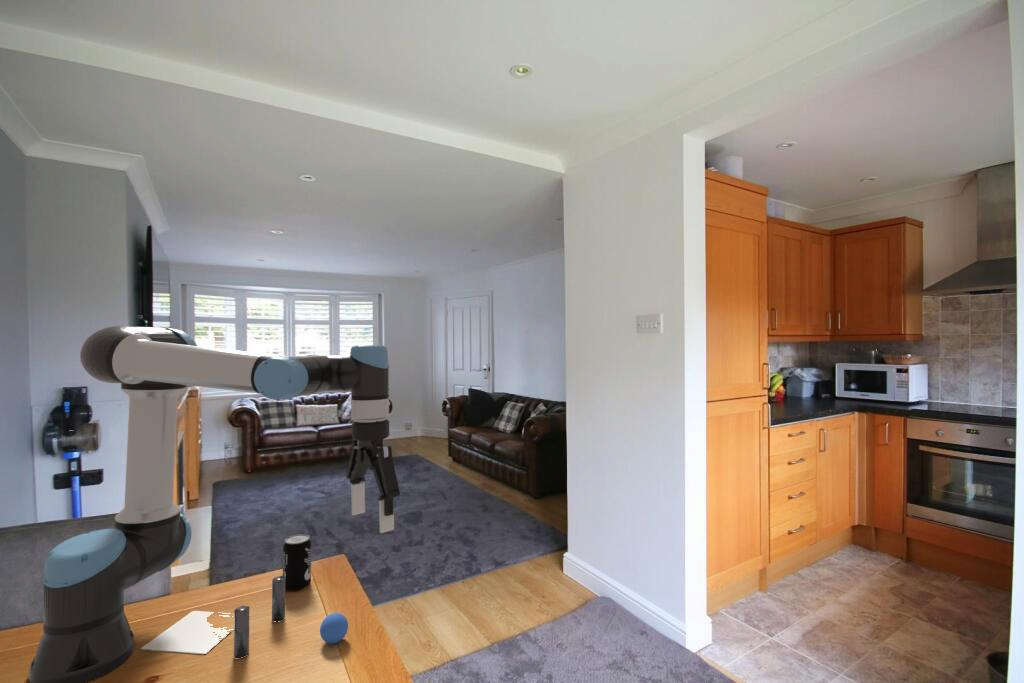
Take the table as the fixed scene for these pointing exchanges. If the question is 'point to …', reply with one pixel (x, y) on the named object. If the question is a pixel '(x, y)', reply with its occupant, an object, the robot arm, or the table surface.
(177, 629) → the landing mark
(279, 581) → the post
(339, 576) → the table surface
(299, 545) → the beverage can
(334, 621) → the ball
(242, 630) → the post
